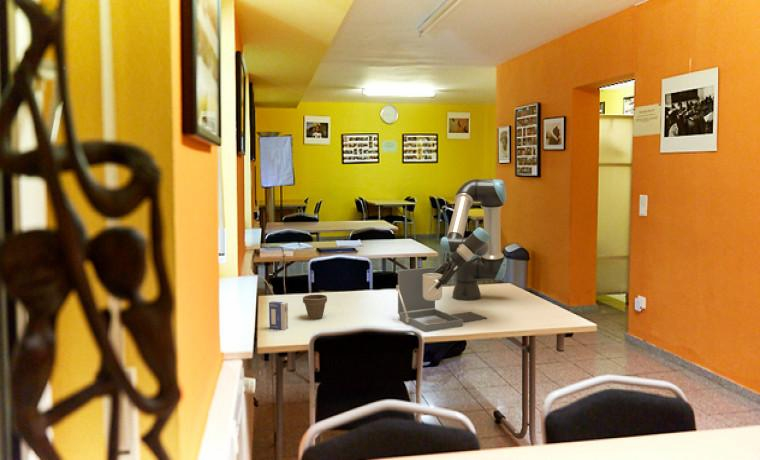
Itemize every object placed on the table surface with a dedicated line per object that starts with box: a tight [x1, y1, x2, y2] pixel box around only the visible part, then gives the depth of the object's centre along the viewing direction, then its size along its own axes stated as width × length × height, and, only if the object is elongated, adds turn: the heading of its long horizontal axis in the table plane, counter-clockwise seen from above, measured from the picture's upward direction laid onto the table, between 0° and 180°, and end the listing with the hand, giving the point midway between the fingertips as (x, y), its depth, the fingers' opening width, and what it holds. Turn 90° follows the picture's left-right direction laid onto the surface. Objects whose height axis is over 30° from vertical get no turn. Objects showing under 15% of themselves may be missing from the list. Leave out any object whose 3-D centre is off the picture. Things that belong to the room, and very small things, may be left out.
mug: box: [423, 273, 443, 302], centre depth 267 cm, size 12×9×11 cm
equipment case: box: [395, 266, 464, 333], centre depth 267 cm, size 24×21×23 cm
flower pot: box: [302, 294, 328, 320], centre depth 277 cm, size 12×11×10 cm
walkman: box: [268, 300, 289, 331], centre depth 259 cm, size 8×3×12 cm, turn 70°
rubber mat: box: [450, 311, 488, 324], centre depth 277 cm, size 13×15×1 cm
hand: (427, 290), depth 267 cm, fingers closed on mug, 12 cm apart
